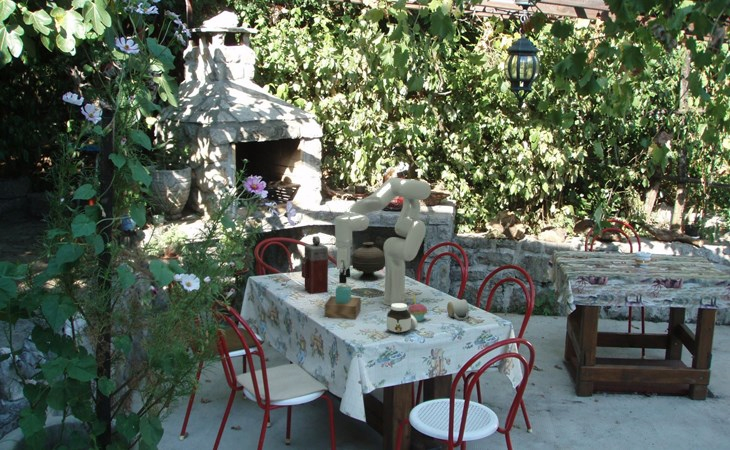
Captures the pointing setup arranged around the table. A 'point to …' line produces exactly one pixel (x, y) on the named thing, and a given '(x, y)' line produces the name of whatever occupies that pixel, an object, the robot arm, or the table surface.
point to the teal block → (343, 294)
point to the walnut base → (343, 308)
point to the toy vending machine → (315, 267)
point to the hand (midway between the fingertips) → (344, 280)
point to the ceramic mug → (458, 309)
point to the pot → (368, 261)
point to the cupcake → (417, 310)
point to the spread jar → (400, 319)
